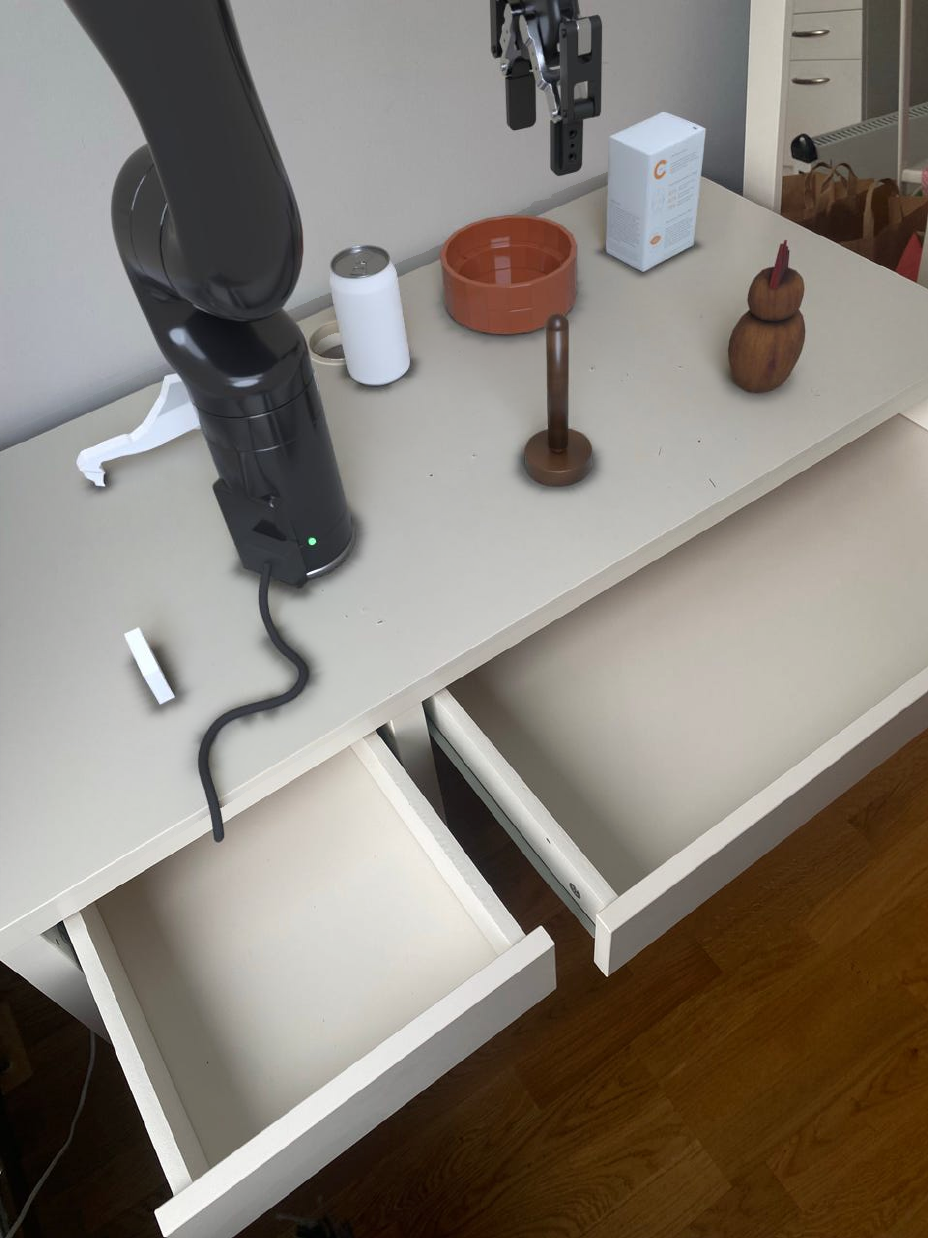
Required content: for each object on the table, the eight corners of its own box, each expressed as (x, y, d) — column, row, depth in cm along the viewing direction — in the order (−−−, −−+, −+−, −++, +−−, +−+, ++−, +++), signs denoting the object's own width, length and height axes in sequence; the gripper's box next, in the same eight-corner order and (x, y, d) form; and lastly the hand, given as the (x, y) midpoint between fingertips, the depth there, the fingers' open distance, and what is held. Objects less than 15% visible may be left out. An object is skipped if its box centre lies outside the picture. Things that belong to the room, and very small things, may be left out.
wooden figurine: (761, 410, 88) (791, 261, 76) (712, 384, 91) (734, 237, 79) (806, 377, 90) (841, 228, 79) (756, 353, 93) (784, 206, 82)
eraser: (154, 655, 75) (138, 626, 72) (175, 697, 72) (159, 669, 69) (140, 662, 75) (123, 634, 72) (160, 704, 72) (143, 677, 69)
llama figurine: (256, 464, 98) (75, 478, 88) (270, 364, 91) (75, 368, 81) (263, 474, 97) (80, 489, 87) (277, 374, 90) (81, 378, 80)
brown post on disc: (574, 494, 83) (576, 344, 71) (513, 475, 85) (505, 327, 73) (602, 452, 86) (608, 302, 74) (542, 435, 88) (539, 287, 76)
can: (414, 349, 98) (398, 241, 89) (406, 387, 94) (388, 278, 85) (354, 350, 99) (332, 243, 90) (343, 388, 95) (319, 280, 86)
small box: (655, 225, 110) (664, 109, 100) (694, 246, 107) (708, 127, 96) (603, 252, 107) (607, 134, 97) (642, 273, 104) (650, 154, 94)
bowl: (541, 351, 96) (539, 298, 92) (422, 321, 101) (415, 270, 97) (597, 279, 104) (598, 228, 99) (483, 255, 109) (480, 205, 104)
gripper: (446, -132, 62) (464, 124, 75) (529, -80, 53) (533, 200, 66) (551, -151, 64) (551, 103, 76) (648, -103, 55) (631, 176, 67)
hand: (543, 148), depth 71 cm, fingers open, 8 cm apart
